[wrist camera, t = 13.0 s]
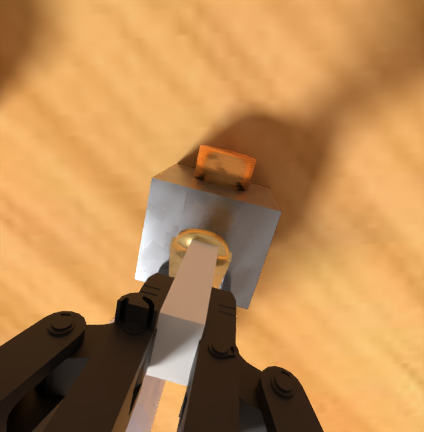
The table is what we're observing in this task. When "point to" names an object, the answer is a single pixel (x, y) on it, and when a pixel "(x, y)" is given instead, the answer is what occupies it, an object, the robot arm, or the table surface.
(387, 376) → the table surface
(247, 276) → the block
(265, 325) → the table surface
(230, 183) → the orange rounded object
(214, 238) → the clip lever
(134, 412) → the soap bottle
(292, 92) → the table surface
